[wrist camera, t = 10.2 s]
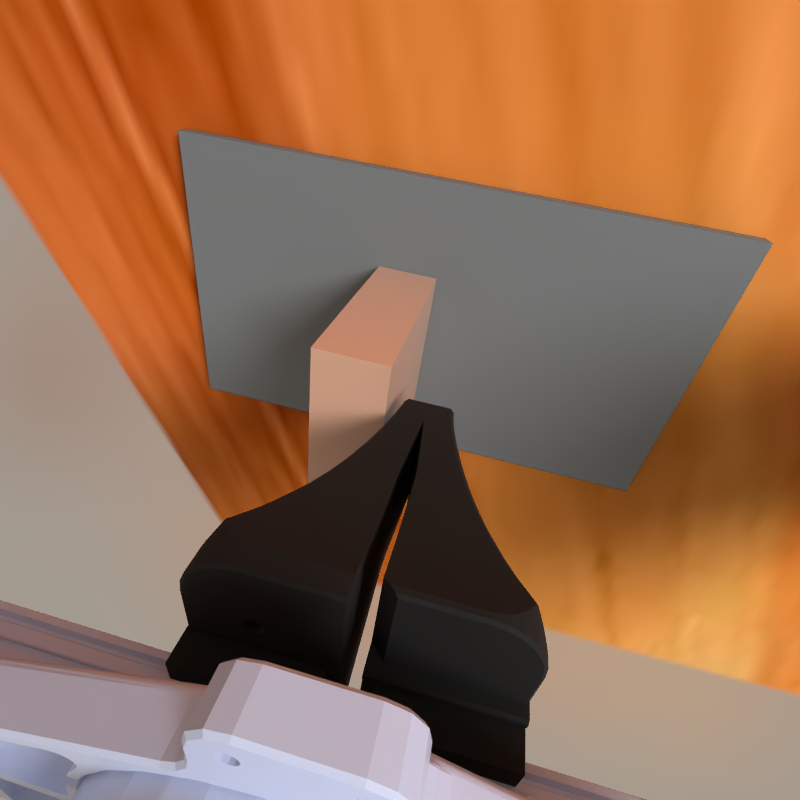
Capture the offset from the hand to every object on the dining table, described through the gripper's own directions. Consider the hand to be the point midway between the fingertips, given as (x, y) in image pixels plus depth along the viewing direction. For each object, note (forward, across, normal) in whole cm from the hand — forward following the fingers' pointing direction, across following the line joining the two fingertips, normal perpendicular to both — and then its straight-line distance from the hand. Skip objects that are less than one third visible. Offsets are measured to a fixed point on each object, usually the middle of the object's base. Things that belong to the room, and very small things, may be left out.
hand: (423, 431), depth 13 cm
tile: (+5, +2, 0) cm, 5 cm away
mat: (+5, +1, 0) cm, 5 cm away
